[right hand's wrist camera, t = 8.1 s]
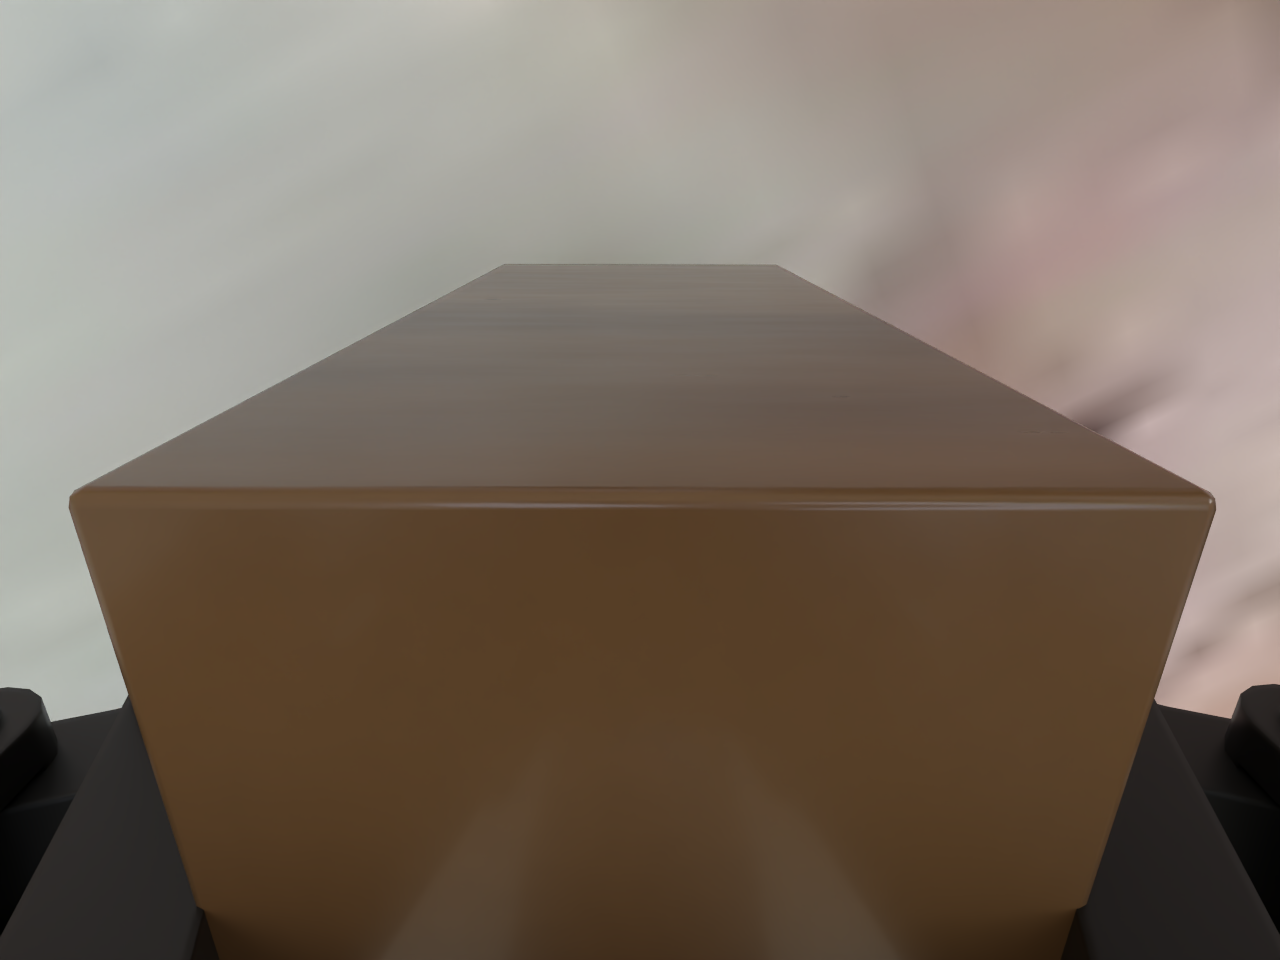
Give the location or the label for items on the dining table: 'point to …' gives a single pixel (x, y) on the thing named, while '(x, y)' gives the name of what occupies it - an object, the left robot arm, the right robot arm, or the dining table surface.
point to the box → (641, 634)
